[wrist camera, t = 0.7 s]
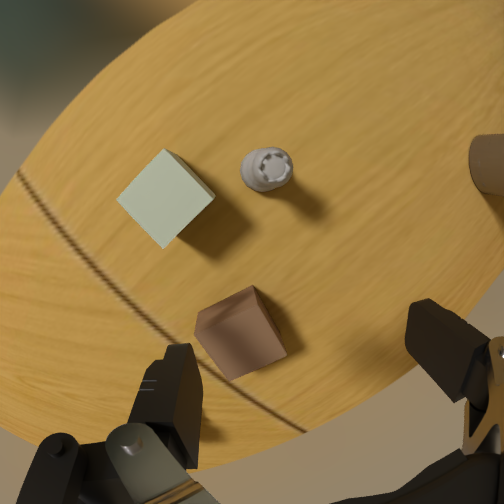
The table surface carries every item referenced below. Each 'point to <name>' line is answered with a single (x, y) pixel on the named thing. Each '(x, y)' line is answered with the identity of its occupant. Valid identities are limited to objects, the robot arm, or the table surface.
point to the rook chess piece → (266, 169)
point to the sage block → (165, 197)
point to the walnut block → (239, 334)
